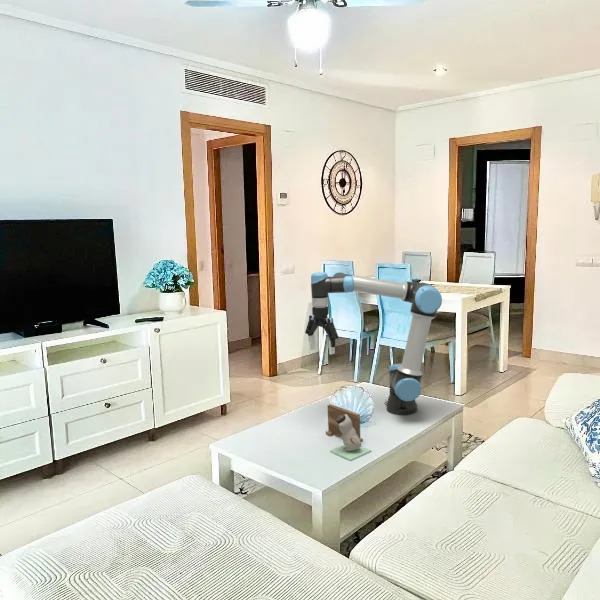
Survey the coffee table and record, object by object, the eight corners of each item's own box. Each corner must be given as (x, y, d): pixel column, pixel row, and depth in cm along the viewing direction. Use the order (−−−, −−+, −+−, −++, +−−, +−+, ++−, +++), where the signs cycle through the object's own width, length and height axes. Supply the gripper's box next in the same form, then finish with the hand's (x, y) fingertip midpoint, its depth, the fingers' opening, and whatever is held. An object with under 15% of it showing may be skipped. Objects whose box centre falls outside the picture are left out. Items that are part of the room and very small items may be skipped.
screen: (334, 430, 246) (333, 403, 244) (363, 441, 232) (362, 413, 230) (325, 434, 242) (324, 406, 240) (353, 446, 229) (353, 416, 227)
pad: (350, 443, 231) (350, 441, 231) (371, 451, 222) (371, 450, 222) (330, 451, 224) (330, 450, 224) (350, 461, 215) (350, 459, 215)
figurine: (345, 443, 230) (344, 410, 228) (365, 449, 224) (364, 414, 221) (333, 450, 223) (332, 416, 221) (353, 456, 217) (352, 421, 215)
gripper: (296, 304, 254) (298, 348, 257) (333, 310, 235) (334, 357, 238) (308, 302, 259) (310, 345, 262) (345, 307, 240) (346, 354, 243)
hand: (322, 351), depth 250 cm, fingers open, 13 cm apart
